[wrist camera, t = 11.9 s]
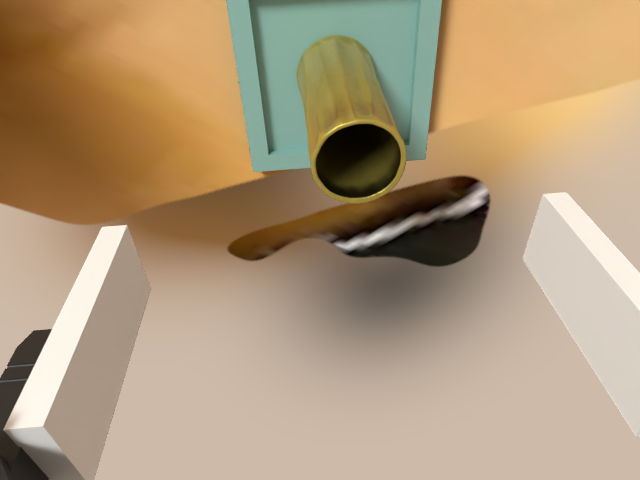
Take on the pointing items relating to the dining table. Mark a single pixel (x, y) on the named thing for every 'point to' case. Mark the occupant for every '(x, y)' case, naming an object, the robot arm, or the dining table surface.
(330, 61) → the vase
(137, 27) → the dining table surface
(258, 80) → the tray
